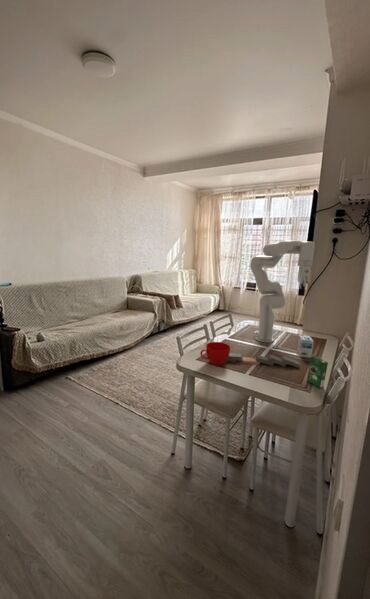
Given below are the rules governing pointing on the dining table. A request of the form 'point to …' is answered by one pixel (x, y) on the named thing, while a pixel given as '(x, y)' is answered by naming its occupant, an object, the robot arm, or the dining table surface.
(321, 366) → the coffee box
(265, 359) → the domino
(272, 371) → the dining table surface
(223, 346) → the ceramic cup
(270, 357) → the domino
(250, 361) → the domino
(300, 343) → the light bulb box
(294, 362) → the domino
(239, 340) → the dining table surface
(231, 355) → the domino
